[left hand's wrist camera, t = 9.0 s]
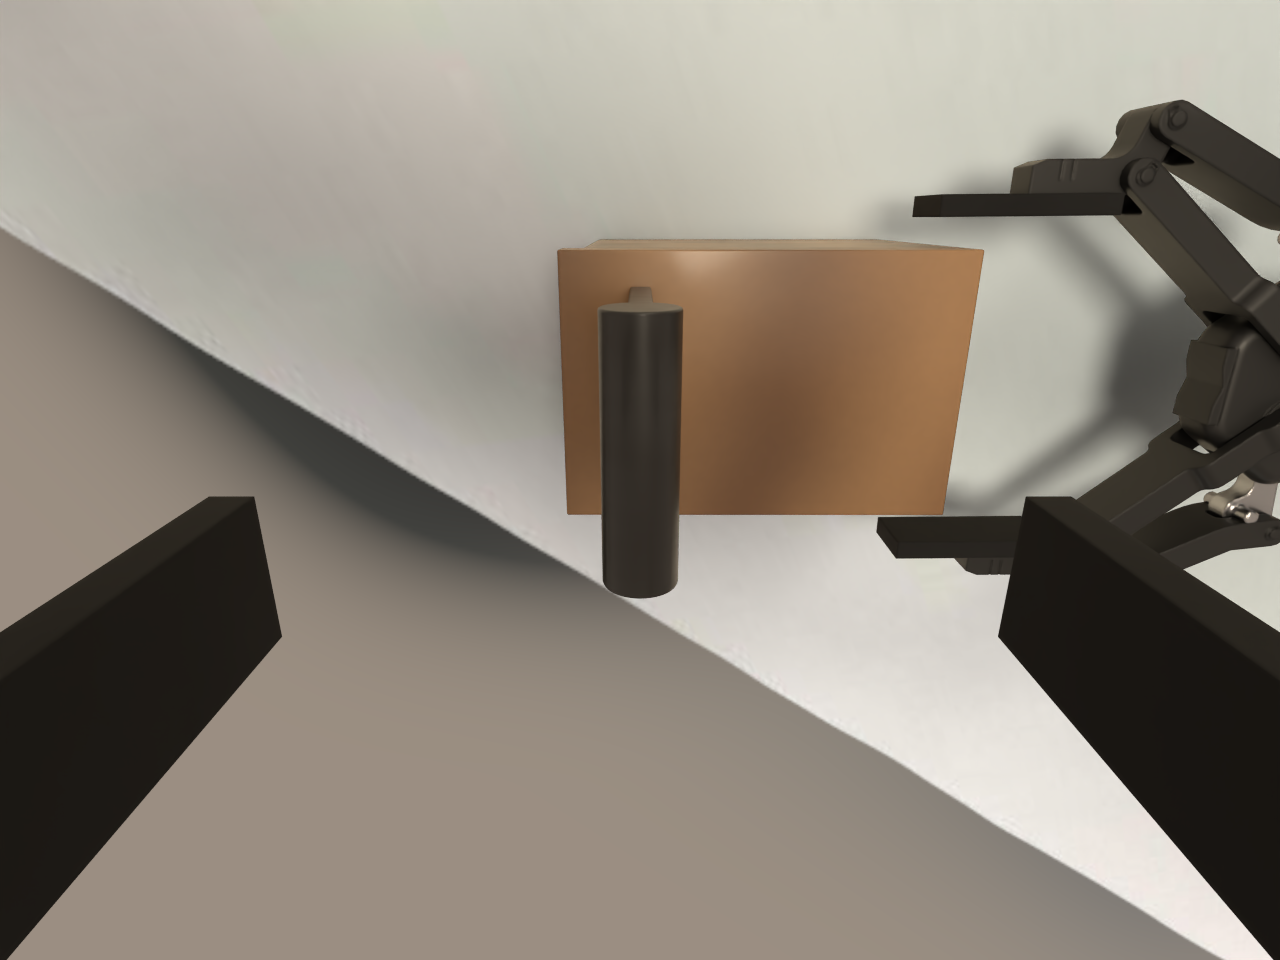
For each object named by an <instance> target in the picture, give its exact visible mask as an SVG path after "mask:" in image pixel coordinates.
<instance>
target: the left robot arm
mask: <svg viewBox="0 0 1280 960" xmlns="http://www.w3.org/2000/svg"><path fill="white" fill-rule="evenodd" d="M281 637H282V634H281V630H280V624H279V619H278V614H277V609H276V604H275V599H274V594H273V589H272V584H271V579H270V574H269V569H268V564H267V559H266V554H265V549H264V544H263V539H262V534H261V529H260V524H259V519H258V514H257V509H256V504H255V499H254V497H208V498H206V499H205V500H203V501H202V502H200V503H199V504H197V505H195V506H194V507H192V508H191V509H189V510H188V511H186V512H185V513H183V514H182V515H180V516H179V517H177V518H175V519H174V520H172V521H171V522H169V523H168V524H166V525H165V526H163V527H162V528H160V529H159V530H157V531H155V532H154V533H152V534H151V535H149V536H148V537H146V538H145V539H143V540H142V541H140V542H139V543H137V544H135V545H134V546H132V547H131V548H129V549H128V550H126V551H125V552H123V553H122V554H120V555H119V556H117V557H115V558H114V559H112V560H111V561H109V562H108V563H106V564H105V565H103V566H102V567H100V568H99V569H97V570H96V571H94V572H92V573H91V574H89V575H88V576H86V577H85V578H83V579H82V580H80V581H79V582H77V583H75V584H74V585H72V586H71V587H69V588H68V589H66V590H65V591H63V592H62V593H60V594H59V595H57V596H55V597H54V598H52V599H51V600H49V601H48V602H46V603H45V604H43V605H42V606H40V607H39V608H37V609H35V610H34V611H32V612H31V613H29V614H28V615H26V616H25V617H23V618H22V619H20V620H19V621H17V622H15V623H14V624H12V625H11V626H9V627H8V628H6V629H5V630H3V631H2V632H0V960H7V959H8V958H9V956H10V955H11V954H12V953H13V952H14V950H15V949H16V948H17V947H18V946H19V944H20V943H21V942H22V941H23V940H24V939H25V937H26V936H27V935H28V934H29V933H30V932H31V931H32V929H33V928H34V927H35V926H36V925H37V923H38V922H39V921H40V920H41V919H42V918H43V916H44V915H45V914H46V913H47V912H48V911H49V909H50V908H51V907H52V906H53V905H54V904H55V902H56V901H57V900H58V899H59V898H60V896H61V895H62V894H63V893H64V892H65V891H66V889H67V888H68V887H69V886H70V885H71V884H72V882H73V881H74V880H75V879H76V878H77V877H78V875H79V874H80V873H81V872H82V871H83V870H84V868H85V867H86V866H87V865H88V864H89V862H90V861H91V860H92V859H93V858H94V857H95V855H96V854H97V853H98V852H99V851H100V850H101V848H102V847H103V846H104V845H105V844H106V843H107V841H108V840H109V839H110V838H111V837H112V835H113V834H114V833H115V832H116V831H117V830H118V828H119V827H120V826H121V825H122V824H123V823H124V821H125V820H126V819H127V818H128V817H129V815H130V814H131V813H132V812H133V811H134V810H135V808H136V807H137V806H138V805H139V804H140V803H141V801H142V800H143V799H144V798H145V797H146V796H147V794H148V793H149V792H150V791H151V790H152V789H153V787H154V786H155V785H156V784H157V783H158V782H159V780H160V779H161V778H162V777H163V776H164V774H165V773H166V772H167V771H168V770H169V769H170V767H171V766H172V765H173V764H174V763H175V762H176V760H177V759H178V758H179V757H180V756H181V755H182V753H183V752H184V751H185V750H186V749H187V747H188V746H189V745H190V744H191V743H192V742H193V740H194V739H195V738H196V737H197V736H198V735H199V733H200V732H201V731H202V730H203V729H204V728H205V726H206V725H207V724H208V723H209V722H210V720H211V719H212V718H213V717H214V716H215V715H216V713H217V712H218V711H219V710H220V709H221V708H222V706H223V705H224V704H225V703H226V702H227V701H228V699H229V698H230V697H231V696H232V695H233V693H234V692H235V691H236V690H237V689H238V688H239V686H240V685H241V684H242V683H243V682H244V681H245V679H246V678H247V677H248V676H249V675H250V674H251V672H252V671H253V670H254V669H255V668H256V666H257V665H258V664H259V663H260V662H261V661H262V659H263V658H264V657H265V656H266V655H267V654H268V652H269V651H270V650H271V649H272V648H273V647H274V645H275V644H276V643H277V642H278V641H279V639H280V638H281ZM998 637H999V638H1000V640H1001V641H1002V642H1003V643H1004V644H1005V645H1006V647H1007V648H1008V649H1009V650H1010V651H1011V652H1012V654H1013V655H1014V656H1015V657H1016V658H1017V659H1018V661H1019V662H1020V663H1021V664H1022V665H1023V667H1024V668H1025V669H1026V670H1027V671H1028V672H1029V674H1030V675H1031V676H1032V677H1033V678H1034V679H1035V681H1036V682H1037V683H1038V684H1039V685H1040V686H1041V688H1042V689H1043V690H1044V691H1045V692H1046V693H1047V695H1048V696H1049V697H1050V698H1051V699H1052V701H1053V702H1054V703H1055V704H1056V705H1057V706H1058V708H1059V709H1060V710H1061V711H1062V712H1063V713H1064V715H1065V716H1066V717H1067V718H1068V719H1069V720H1070V722H1071V723H1072V724H1073V725H1074V726H1075V728H1076V729H1077V730H1078V731H1079V732H1080V733H1081V735H1082V736H1083V737H1084V738H1085V739H1086V740H1087V742H1088V743H1089V744H1090V745H1091V746H1092V747H1093V749H1094V750H1095V751H1096V752H1097V753H1098V755H1099V756H1100V757H1101V758H1102V759H1103V760H1104V762H1105V763H1106V764H1107V765H1108V766H1109V767H1110V769H1111V770H1112V771H1113V772H1114V773H1115V774H1116V776H1117V777H1118V778H1119V779H1120V780H1121V782H1122V783H1123V784H1124V785H1125V786H1126V787H1127V789H1128V790H1129V791H1130V792H1131V793H1132V794H1133V796H1134V797H1135V798H1136V799H1137V800H1138V801H1139V803H1140V804H1141V805H1142V806H1143V807H1144V808H1145V810H1146V811H1147V812H1148V813H1149V814H1150V816H1151V817H1152V818H1153V819H1154V820H1155V821H1156V823H1157V824H1158V825H1159V826H1160V827H1161V828H1162V830H1163V831H1164V832H1165V833H1166V834H1167V835H1168V837H1169V838H1170V839H1171V840H1172V841H1173V843H1174V844H1175V845H1176V846H1177V847H1178V848H1179V850H1180V851H1181V852H1182V853H1183V854H1184V855H1185V857H1186V858H1187V859H1188V860H1189V861H1190V862H1191V864H1192V865H1193V866H1194V867H1195V868H1196V870H1197V871H1198V872H1199V873H1200V874H1201V875H1202V877H1203V878H1204V879H1205V880H1206V881H1207V882H1208V884H1209V885H1210V886H1211V887H1212V888H1213V889H1214V891H1215V892H1216V893H1217V894H1218V895H1219V896H1220V898H1221V899H1222V900H1223V901H1224V902H1225V904H1226V905H1227V906H1228V907H1229V908H1230V909H1231V911H1232V912H1233V913H1234V914H1235V915H1236V916H1237V918H1238V919H1239V920H1240V921H1241V922H1242V923H1243V925H1244V926H1245V927H1246V928H1247V929H1248V931H1249V932H1250V933H1251V934H1252V935H1253V936H1254V938H1255V939H1256V940H1257V941H1258V942H1259V943H1260V945H1261V946H1262V947H1263V948H1264V949H1265V950H1266V952H1267V953H1268V954H1269V955H1270V956H1271V958H1272V959H1273V960H1280V632H1278V631H1277V630H1275V629H1274V628H1272V627H1271V626H1269V625H1268V624H1266V623H1265V622H1263V621H1261V620H1260V619H1258V618H1257V617H1255V616H1254V615H1252V614H1251V613H1249V612H1248V611H1246V610H1245V609H1243V608H1241V607H1240V606H1238V605H1237V604H1235V603H1234V602H1232V601H1231V600H1229V599H1228V598H1226V597H1225V596H1223V595H1221V594H1220V593H1218V592H1217V591H1215V590H1214V589H1212V588H1211V587H1209V586H1208V585H1206V584H1205V583H1203V582H1201V581H1200V580H1198V579H1197V578H1195V577H1194V576H1192V575H1191V574H1189V573H1188V572H1186V571H1185V570H1183V569H1181V568H1180V567H1178V566H1177V565H1175V564H1174V563H1172V562H1171V561H1169V560H1168V559H1166V558H1165V557H1163V556H1161V555H1160V554H1158V553H1157V552H1155V551H1154V550H1152V549H1151V548H1149V547H1148V546H1146V545H1145V544H1143V543H1141V542H1140V541H1138V540H1137V539H1135V538H1134V537H1132V536H1131V535H1129V534H1128V533H1126V532H1125V531H1123V530H1121V529H1120V528H1118V527H1117V526H1115V525H1114V524H1112V523H1111V522H1109V521H1108V520H1106V519H1105V518H1103V517H1101V516H1100V515H1098V514H1097V513H1095V512H1094V511H1092V510H1091V509H1089V508H1088V507H1086V506H1085V505H1083V504H1081V503H1080V502H1078V501H1077V500H1075V499H1074V498H1072V497H1026V499H1025V504H1024V509H1023V514H1022V519H1021V524H1020V529H1019V534H1018V539H1017V544H1016V549H1015V554H1014V559H1013V564H1012V569H1011V574H1010V579H1009V584H1008V589H1007V594H1006V599H1005V604H1004V609H1003V614H1002V619H1001V624H1000V629H999V634H998Z"/></svg>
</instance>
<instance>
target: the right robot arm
mask: <svg viewBox="0 0 1280 960" xmlns="http://www.w3.org/2000/svg"><path fill="white" fill-rule="evenodd" d="M1116 135H1117V139H1116V141H1115V143H1114V145H1113V147H1112V148H1111V150H1110V151H1109V152H1108V153H1107V154H1106V155H1105V156H1103V157H1102V158H1100V159H1045V160H1038V161H1031V162H1027V163H1024V164H1022V165H1019V166H1017V167H1015V168H1014V170H1013V177H1012V183H1011V190H1010V194H941V195H927V196H915V199H914V208H913V217H982V216H1086V215H1113V216H1114V217H1115V218H1116V219H1117V220H1118V221H1119V222H1120V223H1121V224H1122V225H1123V226H1124V228H1125V229H1126V230H1127V231H1128V232H1129V233H1130V234H1131V235H1132V236H1133V237H1134V239H1135V240H1136V241H1137V242H1138V243H1139V244H1140V245H1141V246H1142V247H1143V248H1144V249H1145V251H1146V252H1147V253H1148V254H1149V255H1150V256H1151V257H1152V258H1153V259H1154V260H1155V261H1156V263H1157V264H1158V265H1159V266H1160V267H1161V268H1162V269H1163V270H1164V271H1165V272H1166V273H1167V275H1168V276H1169V277H1170V278H1171V279H1172V280H1173V281H1174V282H1175V283H1176V284H1177V285H1178V287H1179V288H1180V289H1181V290H1182V291H1183V292H1184V293H1185V294H1186V298H1185V302H1186V303H1187V305H1188V306H1189V307H1190V308H1191V309H1192V310H1193V311H1194V312H1195V313H1196V314H1197V315H1198V317H1199V318H1200V319H1201V320H1202V321H1203V322H1204V323H1205V324H1206V325H1207V326H1208V328H1206V330H1205V331H1204V332H1203V333H1202V335H1201V336H1200V338H1199V339H1198V340H1191V343H1190V346H1189V350H1188V354H1187V358H1186V361H1187V377H1186V379H1185V381H1184V383H1183V385H1182V387H1181V389H1180V391H1179V393H1178V395H1177V398H1176V402H1175V406H1174V410H1173V413H1174V414H1177V415H1179V419H1180V421H1179V422H1178V423H1176V424H1175V425H1173V426H1172V427H1170V428H1169V429H1167V430H1166V431H1164V432H1163V433H1161V434H1160V435H1159V436H1157V437H1156V438H1154V439H1153V440H1152V441H1151V442H1150V443H1149V445H1148V448H1149V449H1148V451H1147V452H1146V453H1145V454H1143V455H1142V456H1140V457H1139V458H1137V459H1136V460H1134V461H1133V462H1131V463H1130V464H1128V465H1127V466H1125V467H1124V468H1123V469H1121V470H1120V471H1118V472H1117V473H1115V474H1114V475H1112V476H1111V477H1109V478H1108V479H1106V480H1105V481H1103V482H1102V483H1100V484H1099V485H1098V486H1096V487H1095V488H1093V489H1092V490H1090V491H1089V492H1087V493H1086V494H1084V495H1083V496H1081V497H1080V498H1078V499H1077V501H1078V502H1080V503H1081V504H1083V505H1085V506H1086V507H1088V508H1089V509H1091V510H1092V511H1094V512H1095V513H1097V514H1098V515H1100V516H1101V517H1103V518H1105V519H1106V520H1108V521H1109V522H1111V523H1112V524H1114V525H1115V526H1117V527H1118V528H1120V529H1121V530H1123V531H1125V532H1126V533H1128V534H1129V535H1131V536H1132V537H1134V538H1135V539H1137V540H1138V541H1140V542H1141V543H1143V544H1145V545H1146V546H1148V547H1149V548H1151V549H1152V550H1154V551H1155V552H1157V553H1158V554H1160V555H1161V556H1163V557H1165V558H1166V559H1168V560H1169V561H1171V562H1172V563H1174V564H1175V565H1177V566H1178V567H1180V568H1181V569H1185V568H1188V567H1190V566H1193V565H1195V564H1198V563H1200V562H1203V561H1205V560H1208V559H1210V558H1213V557H1215V556H1218V555H1220V554H1222V553H1225V552H1227V551H1230V550H1238V549H1247V548H1256V547H1265V546H1272V545H1276V544H1278V543H1280V519H1277V518H1275V517H1273V516H1272V511H1273V506H1274V501H1275V496H1276V490H1277V485H1278V483H1280V281H1279V282H1277V283H1276V284H1274V283H1273V282H1271V281H1268V280H1266V279H1264V278H1262V277H1261V276H1259V275H1258V274H1257V272H1256V271H1255V270H1254V269H1253V268H1252V267H1251V266H1250V264H1249V263H1248V262H1247V261H1246V260H1245V259H1244V258H1243V256H1242V255H1241V254H1240V253H1239V252H1238V251H1237V250H1236V248H1235V247H1234V246H1233V245H1232V244H1231V243H1230V242H1229V240H1228V239H1227V238H1226V237H1225V236H1224V235H1223V234H1222V232H1221V231H1220V230H1219V229H1218V228H1217V227H1216V226H1215V224H1214V223H1213V222H1212V221H1211V220H1210V219H1209V218H1208V216H1207V215H1206V214H1205V213H1204V212H1203V211H1202V209H1201V208H1200V207H1199V206H1198V205H1197V204H1196V203H1195V201H1194V200H1193V199H1192V198H1191V197H1190V196H1189V195H1188V193H1187V192H1186V191H1185V190H1184V189H1183V188H1182V187H1181V185H1180V184H1179V183H1178V182H1177V181H1176V180H1175V179H1174V177H1173V176H1172V175H1171V174H1170V173H1172V174H1174V175H1175V176H1177V177H1179V178H1180V179H1182V180H1184V181H1185V182H1187V183H1189V184H1190V185H1192V186H1194V187H1195V188H1197V189H1199V190H1200V191H1202V192H1204V193H1205V194H1207V195H1208V196H1210V197H1212V198H1213V199H1215V200H1217V201H1218V202H1220V203H1222V204H1223V205H1225V206H1227V207H1228V208H1230V209H1232V210H1233V211H1235V212H1237V213H1238V214H1240V215H1242V216H1243V217H1245V218H1246V219H1248V220H1250V221H1252V222H1254V223H1255V224H1257V225H1259V226H1262V227H1265V228H1268V229H1271V230H1276V231H1280V159H1279V158H1277V157H1276V156H1274V155H1273V154H1271V153H1269V152H1268V151H1266V150H1265V149H1263V148H1261V147H1260V146H1258V145H1257V144H1255V143H1254V142H1252V141H1250V140H1249V139H1247V138H1246V137H1244V136H1242V135H1241V134H1239V133H1238V132H1236V131H1234V130H1233V129H1231V128H1230V127H1228V126H1226V125H1225V124H1223V123H1222V122H1220V121H1218V120H1217V119H1215V118H1214V117H1212V116H1210V115H1209V114H1207V113H1206V112H1204V111H1202V110H1201V109H1199V108H1198V107H1196V106H1194V105H1193V104H1191V103H1190V102H1188V101H1185V100H1178V101H1172V102H1167V103H1163V104H1158V105H1153V106H1149V107H1144V108H1140V109H1135V110H1131V111H1129V112H1127V113H1125V114H1124V115H1123V116H1122V117H1121V118H1120V119H1119V122H1118V124H1117V126H1116ZM1168 171H1169V172H1170V173H1169V172H1168ZM1277 241H1278V243H1279V244H1280V234H1279V236H1278V239H1277ZM1198 445H1201V446H1202V447H1203V448H1204V449H1206V450H1207V451H1208V452H1209V453H1208V454H1203V453H1200V452H1197V451H1195V450H1193V449H1194V448H1195V447H1197V446H1198ZM1237 476H1238V477H1237ZM1236 477H1237V480H1236V482H1235V483H1234V485H1233V486H1232V487H1230V488H1229V489H1227V490H1225V491H1222V492H1219V493H1216V492H1209V493H1207V494H1206V495H1205V496H1204V502H1201V503H1195V504H1191V505H1187V506H1183V507H1180V508H1178V509H1175V510H1172V511H1170V512H1168V511H1169V510H1171V509H1172V508H1174V507H1175V506H1177V505H1178V504H1180V503H1182V502H1183V501H1185V500H1186V499H1188V498H1189V497H1191V496H1192V495H1194V494H1195V493H1197V492H1199V491H1201V490H1206V489H1216V488H1219V487H1221V486H1223V485H1225V484H1226V483H1228V482H1230V481H1231V480H1233V479H1234V478H1236ZM1166 512H1168V513H1166ZM1021 519H1022V516H960V517H878V523H877V534H878V535H879V536H880V538H881V539H882V540H883V542H884V543H885V544H886V546H887V547H888V548H889V550H890V551H891V552H892V554H893V555H894V556H895V558H955V560H956V561H957V562H958V563H959V564H960V565H961V566H962V567H963V568H964V569H965V570H966V571H968V572H971V573H973V574H976V575H989V574H991V575H998V574H1000V575H1005V574H1011V569H1012V564H1013V559H1014V554H1015V549H1016V544H1017V539H1018V534H1019V529H1020V524H1021Z"/></svg>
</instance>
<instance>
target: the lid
mask: <svg viewBox="0 0 1280 960" xmlns="http://www.w3.org/2000/svg"><path fill="white" fill-rule="evenodd" d="M983 255H984V250H980V249H970V248H562V249H559V250H558V251H557V256H558V283H559V309H560V336H561V362H562V388H563V415H564V441H565V468H566V494H567V514H568V515H602V563H603V583H604V585H605V586H606V588H607V589H608V590H610V591H611V592H613V593H615V594H617V595H620V596H624V597H629V598H652V597H657V596H661V595H664V594H666V593H668V592H670V591H671V590H672V589H673V588H674V587H675V586H676V584H677V582H678V548H679V515H942V514H943V509H944V503H945V497H946V490H947V484H948V478H949V471H950V465H951V458H952V452H953V446H954V439H955V433H956V427H957V420H958V414H959V408H960V401H961V395H962V389H963V382H964V376H965V369H966V363H967V357H968V350H969V344H970V338H971V331H972V325H973V319H974V312H975V306H976V300H977V293H978V287H979V280H980V274H981V268H982V261H983Z"/></svg>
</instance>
